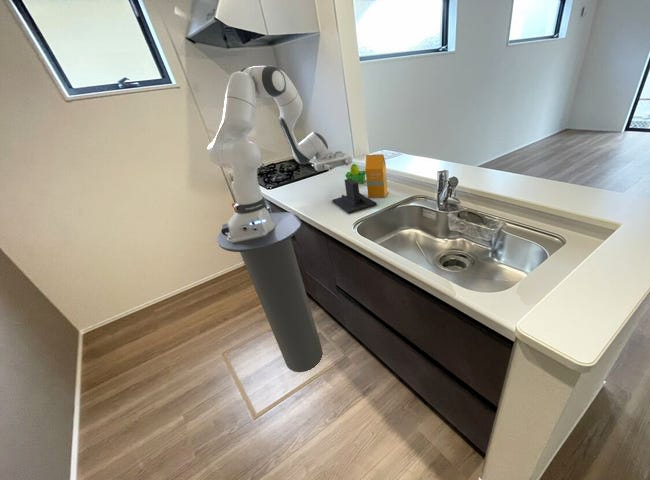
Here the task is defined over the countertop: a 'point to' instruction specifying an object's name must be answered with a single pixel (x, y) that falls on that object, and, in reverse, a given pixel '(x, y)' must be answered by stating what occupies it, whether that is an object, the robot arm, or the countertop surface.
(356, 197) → the upright pad
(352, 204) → the base pad
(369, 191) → the orange juice
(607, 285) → the countertop surface
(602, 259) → the countertop surface
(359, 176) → the fruit basket
